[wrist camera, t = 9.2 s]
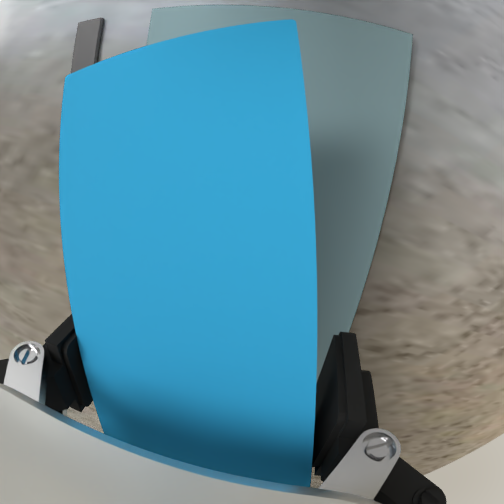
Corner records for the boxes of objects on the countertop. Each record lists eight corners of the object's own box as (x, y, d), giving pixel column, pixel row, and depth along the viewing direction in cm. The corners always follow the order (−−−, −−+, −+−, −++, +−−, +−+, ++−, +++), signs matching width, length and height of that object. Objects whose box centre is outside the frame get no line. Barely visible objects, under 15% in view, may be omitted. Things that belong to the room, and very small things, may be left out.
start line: (81, 23, 12) (78, 22, 12) (103, 18, 12) (100, 17, 12) (102, 383, 23) (100, 385, 23) (118, 389, 23) (116, 392, 22)
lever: (160, 122, 14) (194, 446, 16) (65, 76, 7) (147, 529, 10) (304, 104, 13) (311, 455, 15) (295, 18, 6) (302, 553, 8)
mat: (156, 10, 12) (152, 8, 11) (410, 36, 10) (412, 34, 10) (153, 401, 22) (151, 405, 22) (305, 434, 21) (304, 438, 21)
